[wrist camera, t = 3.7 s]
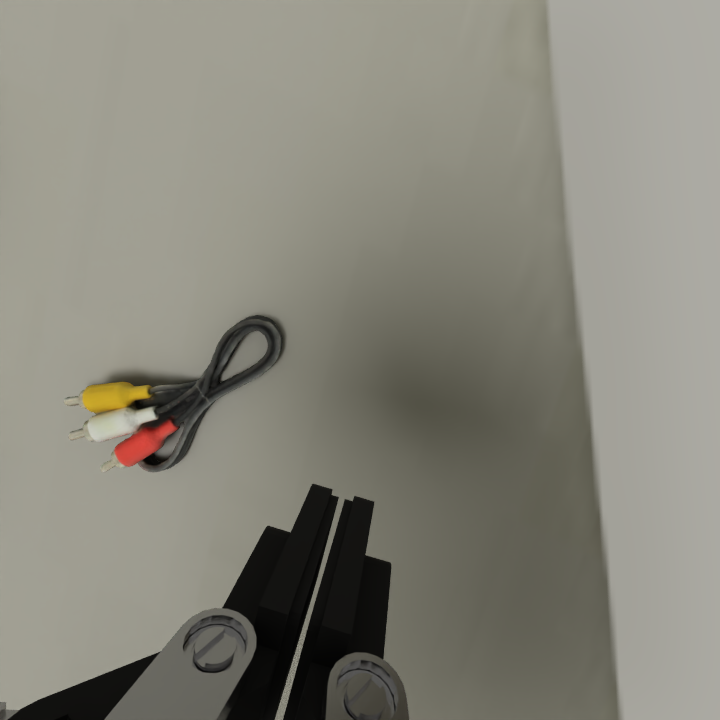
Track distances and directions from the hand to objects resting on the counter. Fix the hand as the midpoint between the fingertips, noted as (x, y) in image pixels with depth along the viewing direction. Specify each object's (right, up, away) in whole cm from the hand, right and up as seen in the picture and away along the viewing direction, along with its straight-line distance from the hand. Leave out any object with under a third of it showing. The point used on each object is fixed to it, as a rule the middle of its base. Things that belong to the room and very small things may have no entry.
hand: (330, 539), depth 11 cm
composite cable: (-6, +3, +8) cm, 11 cm away
